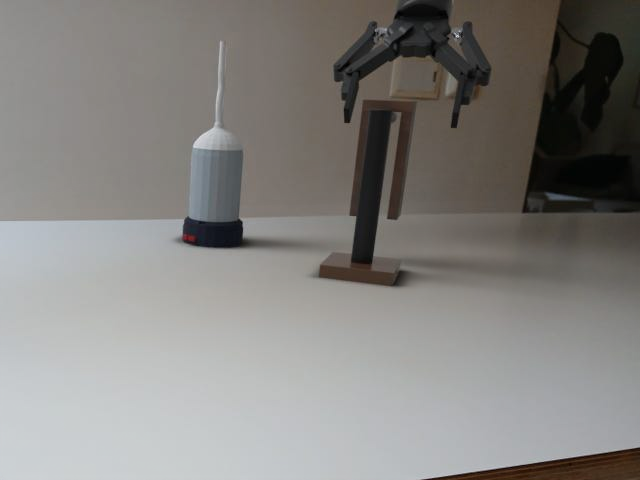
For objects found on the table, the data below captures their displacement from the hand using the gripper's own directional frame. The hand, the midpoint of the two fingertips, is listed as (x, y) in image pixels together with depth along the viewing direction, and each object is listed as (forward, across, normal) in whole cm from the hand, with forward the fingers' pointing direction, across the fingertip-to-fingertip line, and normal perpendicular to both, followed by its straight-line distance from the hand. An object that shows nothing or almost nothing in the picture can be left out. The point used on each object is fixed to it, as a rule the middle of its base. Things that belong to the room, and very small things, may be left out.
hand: (399, 118), depth 97 cm
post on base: (+24, 0, 0) cm, 24 cm away
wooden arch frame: (+16, 0, +1) cm, 17 cm away
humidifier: (+20, +21, -4) cm, 29 cm away
